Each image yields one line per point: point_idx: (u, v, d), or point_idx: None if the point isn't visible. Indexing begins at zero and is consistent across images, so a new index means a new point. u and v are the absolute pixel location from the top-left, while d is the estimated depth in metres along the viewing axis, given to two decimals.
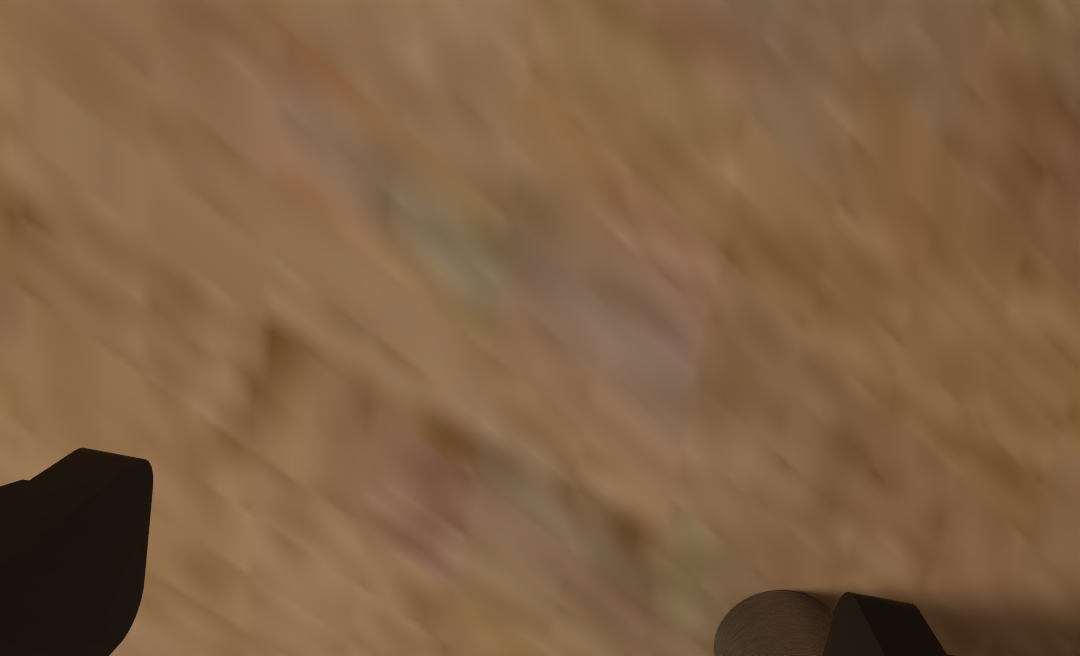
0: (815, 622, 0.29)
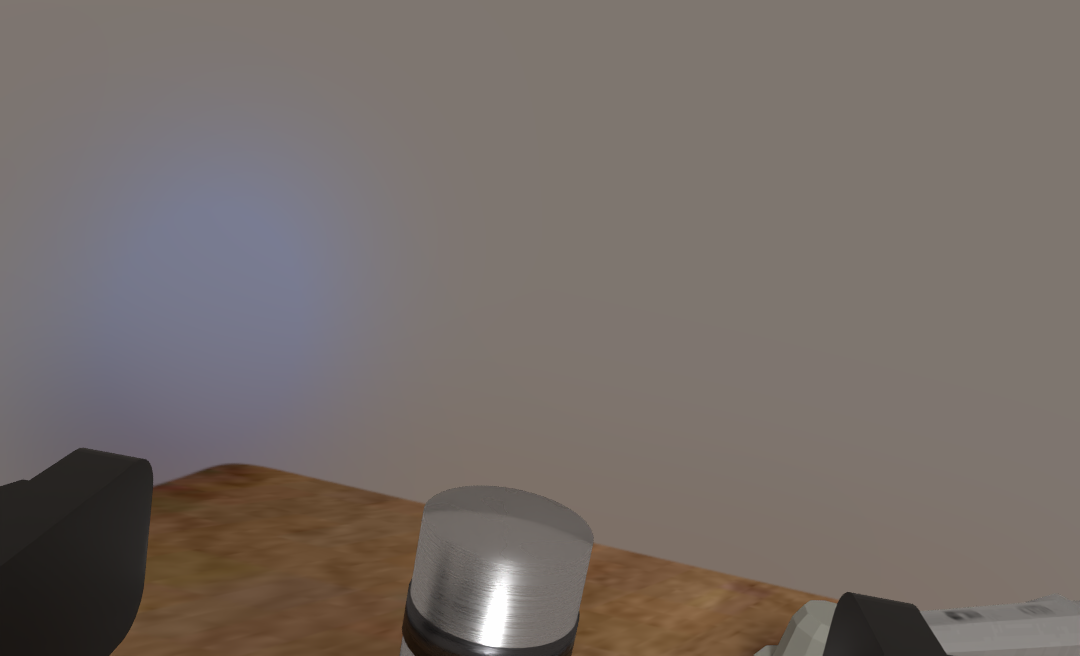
0: None
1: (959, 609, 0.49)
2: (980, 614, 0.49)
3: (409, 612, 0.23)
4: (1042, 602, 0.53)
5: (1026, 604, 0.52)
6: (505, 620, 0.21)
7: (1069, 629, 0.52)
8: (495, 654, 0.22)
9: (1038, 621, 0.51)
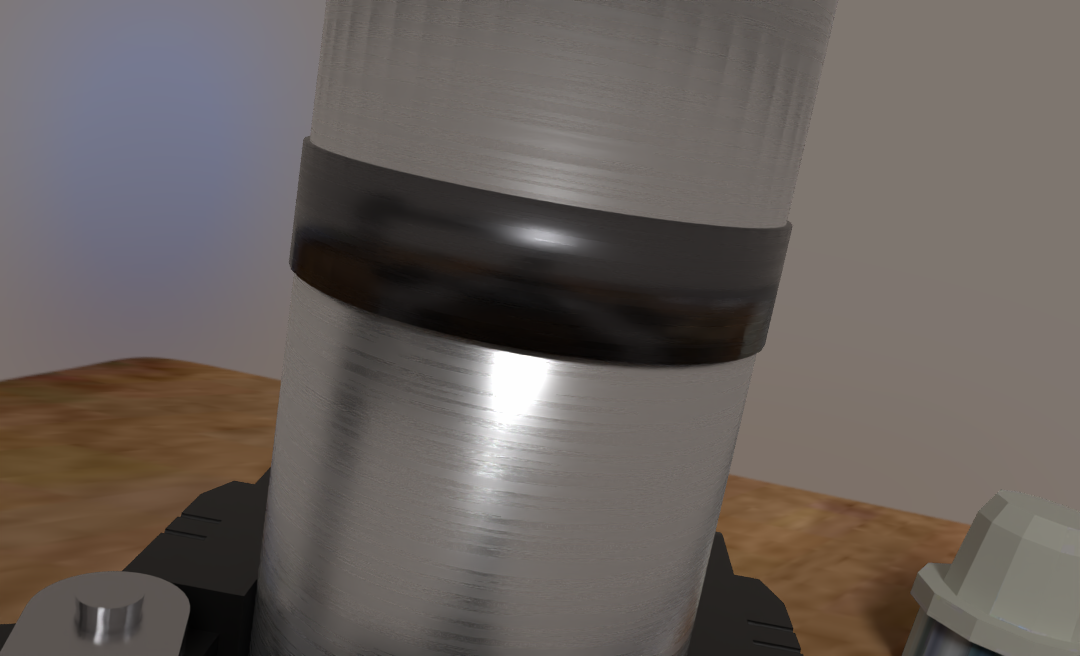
0: None
1: None
2: None
3: (303, 176, 0.08)
4: None
5: None
6: (607, 107, 0.06)
7: None
8: (573, 231, 0.06)
9: None
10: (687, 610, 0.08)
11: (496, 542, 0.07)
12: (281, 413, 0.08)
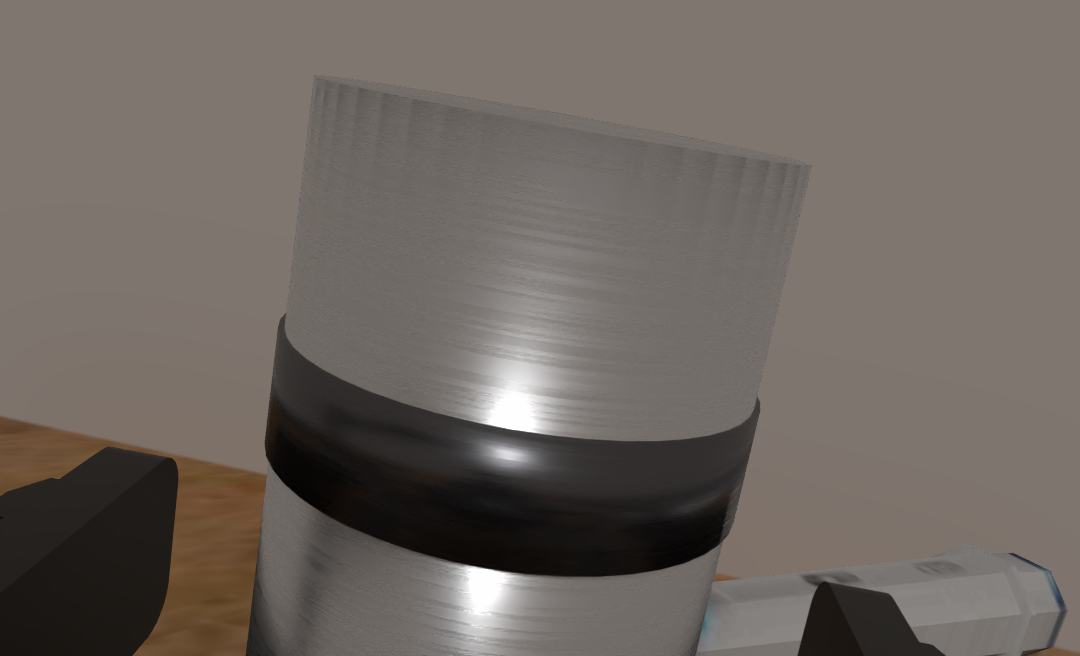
0: None
1: (826, 571, 0.32)
2: (857, 577, 0.32)
3: (277, 368, 0.08)
4: (949, 557, 0.36)
5: (926, 560, 0.35)
6: (570, 341, 0.06)
7: (988, 594, 0.35)
8: (537, 458, 0.07)
9: (943, 584, 0.34)
10: None
11: None
12: (257, 591, 0.08)
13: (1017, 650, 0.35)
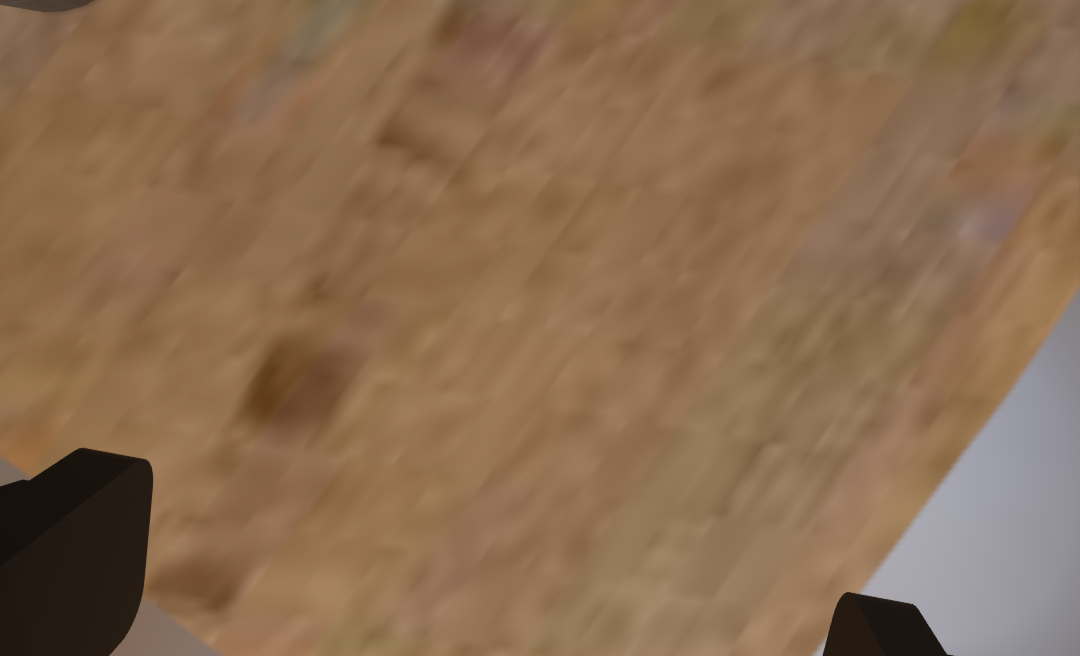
0: None
1: None
2: None
3: None
4: None
5: None
6: None
7: None
8: None
9: None
10: None
11: None
12: None
13: None
